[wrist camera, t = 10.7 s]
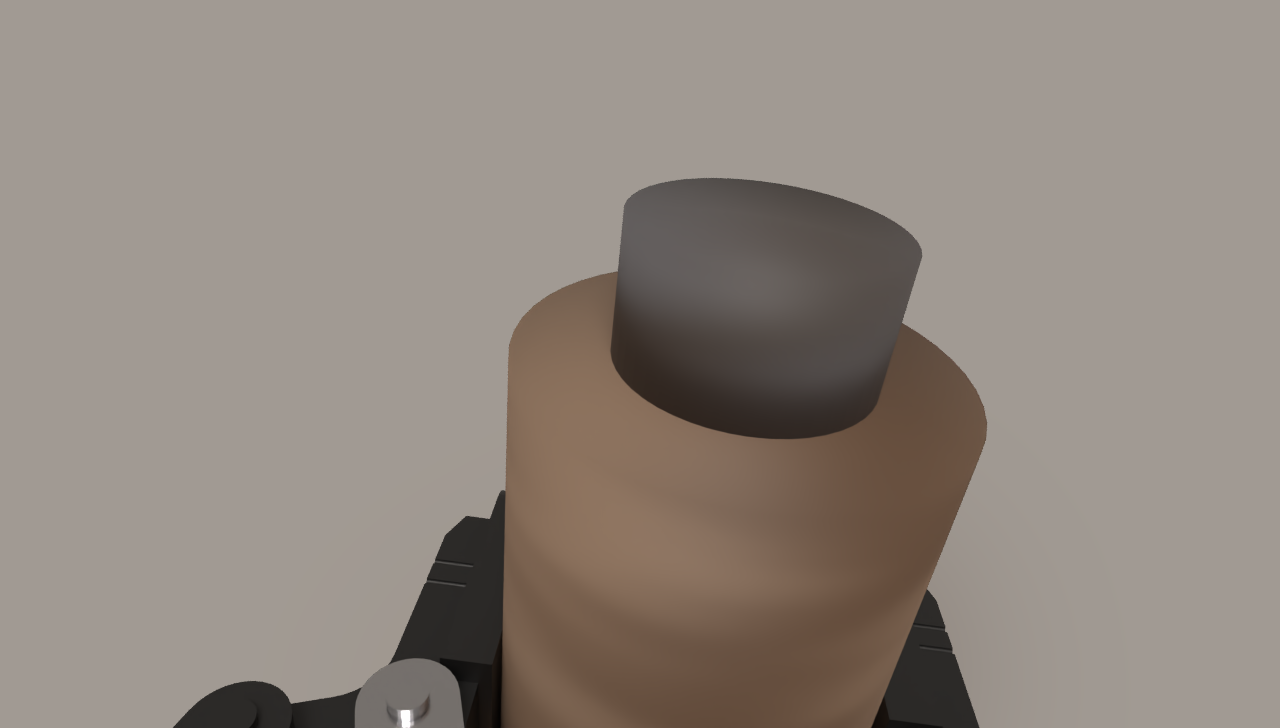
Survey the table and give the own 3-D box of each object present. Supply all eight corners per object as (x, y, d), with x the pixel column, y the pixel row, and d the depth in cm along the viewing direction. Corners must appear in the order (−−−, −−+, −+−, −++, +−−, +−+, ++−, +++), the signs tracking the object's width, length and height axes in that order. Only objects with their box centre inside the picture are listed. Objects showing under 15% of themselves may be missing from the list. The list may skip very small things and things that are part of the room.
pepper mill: (462, 1063, 12) (441, 298, 6) (527, 761, 17) (559, 132, 10) (784, 1110, 12) (1156, 390, 6) (764, 793, 17) (955, 181, 10)
